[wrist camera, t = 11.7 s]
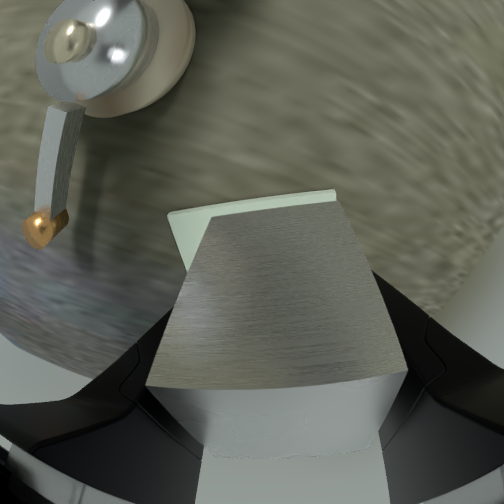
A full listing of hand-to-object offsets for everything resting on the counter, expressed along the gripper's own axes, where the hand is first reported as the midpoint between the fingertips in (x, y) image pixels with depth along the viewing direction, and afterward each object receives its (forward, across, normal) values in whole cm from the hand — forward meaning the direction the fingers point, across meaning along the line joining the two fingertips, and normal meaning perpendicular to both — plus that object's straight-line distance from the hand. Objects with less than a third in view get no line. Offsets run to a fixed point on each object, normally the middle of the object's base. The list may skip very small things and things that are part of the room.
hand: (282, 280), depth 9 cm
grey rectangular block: (+1, 0, 0) cm, 1 cm away
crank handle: (+9, +11, -7) cm, 16 cm away
